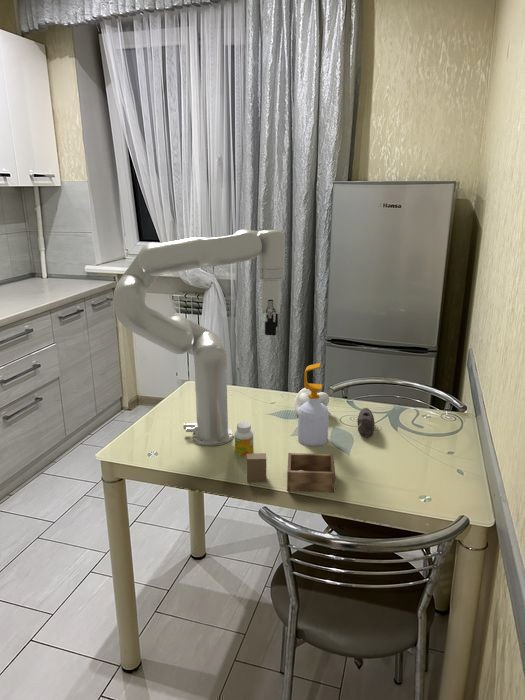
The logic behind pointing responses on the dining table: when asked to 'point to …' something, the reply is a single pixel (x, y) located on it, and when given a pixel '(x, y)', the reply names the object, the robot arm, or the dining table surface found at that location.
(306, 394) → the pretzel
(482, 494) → the dining table surface
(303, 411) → the soap bottle
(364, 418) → the perforated stone tool
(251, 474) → the lid
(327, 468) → the box
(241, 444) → the supplement bottle
